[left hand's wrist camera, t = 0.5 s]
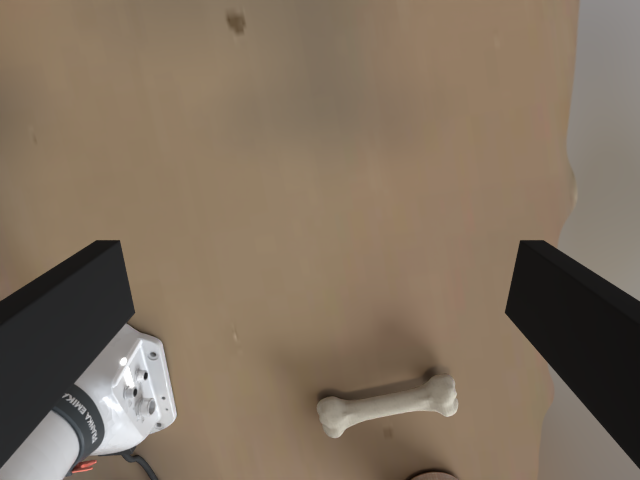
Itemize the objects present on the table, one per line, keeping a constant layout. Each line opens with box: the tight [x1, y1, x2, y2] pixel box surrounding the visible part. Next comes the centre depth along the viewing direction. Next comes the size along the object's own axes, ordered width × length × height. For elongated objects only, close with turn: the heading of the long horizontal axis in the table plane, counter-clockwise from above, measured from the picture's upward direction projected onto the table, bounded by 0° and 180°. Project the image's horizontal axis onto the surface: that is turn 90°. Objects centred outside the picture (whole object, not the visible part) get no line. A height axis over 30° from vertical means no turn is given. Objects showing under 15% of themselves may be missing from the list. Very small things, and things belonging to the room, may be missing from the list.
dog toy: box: [317, 374, 458, 438], centre depth 53 cm, size 20×6×5 cm, turn 105°
